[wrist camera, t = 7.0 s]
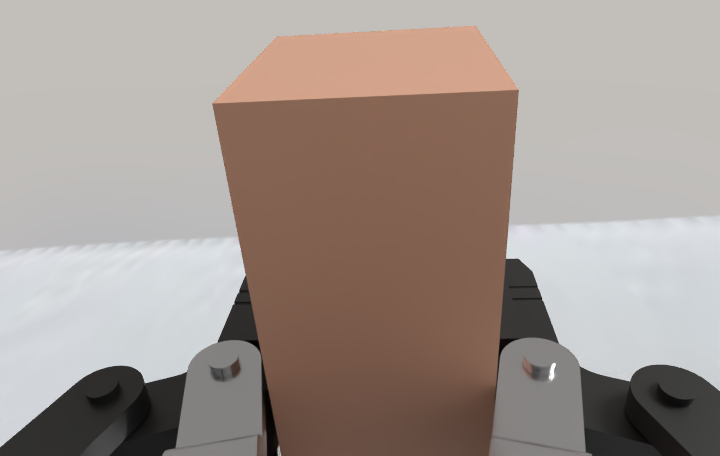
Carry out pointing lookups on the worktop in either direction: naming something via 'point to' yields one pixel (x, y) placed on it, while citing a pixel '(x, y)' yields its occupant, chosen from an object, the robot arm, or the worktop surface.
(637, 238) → the worktop surface
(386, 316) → the pull-out drawer
